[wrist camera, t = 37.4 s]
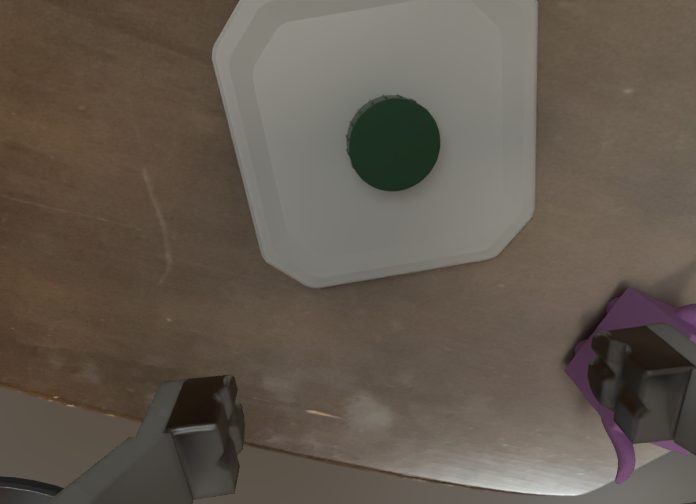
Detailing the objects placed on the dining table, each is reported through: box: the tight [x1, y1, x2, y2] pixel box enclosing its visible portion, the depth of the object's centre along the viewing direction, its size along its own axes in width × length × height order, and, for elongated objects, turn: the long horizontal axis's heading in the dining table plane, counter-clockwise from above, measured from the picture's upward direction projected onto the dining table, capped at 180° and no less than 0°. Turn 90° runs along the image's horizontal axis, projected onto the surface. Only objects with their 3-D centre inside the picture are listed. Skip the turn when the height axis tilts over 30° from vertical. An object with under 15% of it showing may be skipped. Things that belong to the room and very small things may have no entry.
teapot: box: [565, 287, 696, 484], centre depth 37 cm, size 18×13×10 cm
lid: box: [346, 94, 440, 191], centre depth 30 cm, size 6×6×2 cm
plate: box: [212, 0, 538, 289], centre depth 32 cm, size 21×21×2 cm
